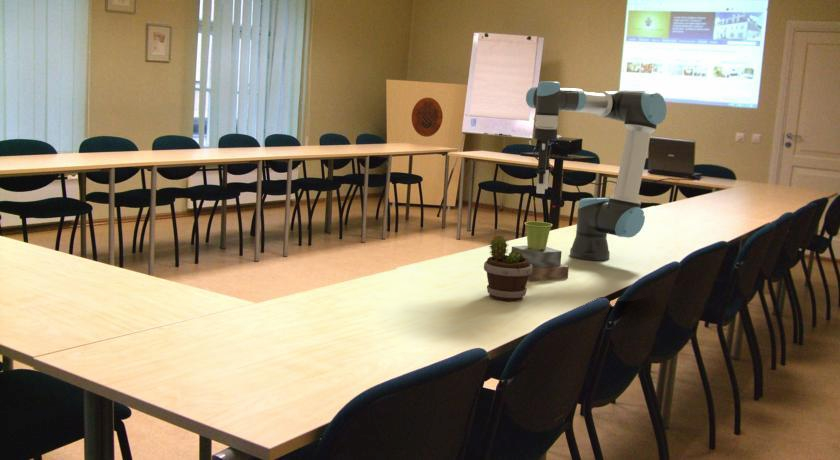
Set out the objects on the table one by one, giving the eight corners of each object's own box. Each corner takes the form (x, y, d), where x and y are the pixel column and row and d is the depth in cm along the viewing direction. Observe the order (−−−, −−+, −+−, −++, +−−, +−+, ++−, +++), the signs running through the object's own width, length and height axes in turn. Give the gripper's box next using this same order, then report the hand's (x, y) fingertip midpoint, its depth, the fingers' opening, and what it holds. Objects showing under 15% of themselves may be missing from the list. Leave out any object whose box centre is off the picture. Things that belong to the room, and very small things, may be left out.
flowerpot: (534, 294, 253) (539, 231, 249) (524, 306, 238) (529, 238, 235) (489, 289, 257) (493, 226, 254) (476, 299, 243) (480, 233, 240)
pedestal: (537, 268, 292) (539, 243, 291) (567, 277, 279) (570, 252, 277) (501, 271, 284) (503, 245, 282) (531, 281, 270) (533, 254, 269)
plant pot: (549, 252, 275) (551, 226, 273) (521, 249, 277) (523, 224, 275) (551, 247, 284) (553, 222, 282) (523, 245, 286) (525, 220, 284)
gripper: (538, 126, 287) (534, 186, 291) (531, 129, 263) (527, 194, 267) (559, 127, 286) (555, 187, 289) (555, 130, 262) (550, 196, 265)
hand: (542, 191), depth 278 cm, fingers open, 13 cm apart
